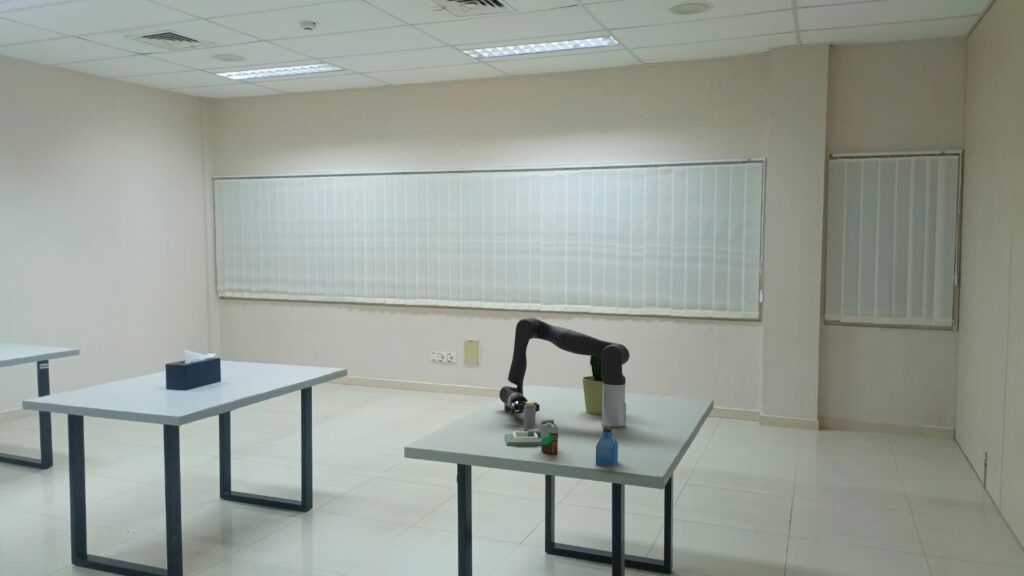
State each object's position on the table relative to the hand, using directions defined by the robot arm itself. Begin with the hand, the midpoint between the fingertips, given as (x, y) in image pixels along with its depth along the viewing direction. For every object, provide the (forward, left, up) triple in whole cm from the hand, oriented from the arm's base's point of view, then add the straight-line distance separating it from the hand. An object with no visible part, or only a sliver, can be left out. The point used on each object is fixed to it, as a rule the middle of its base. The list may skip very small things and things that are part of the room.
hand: (524, 410), depth 296 cm
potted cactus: (-36, -28, -7) cm, 46 cm away
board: (+2, +22, -6) cm, 23 cm away
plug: (-1, +11, -6) cm, 13 cm away
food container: (-5, +36, -7) cm, 37 cm away
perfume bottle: (-23, +51, -7) cm, 56 cm away
